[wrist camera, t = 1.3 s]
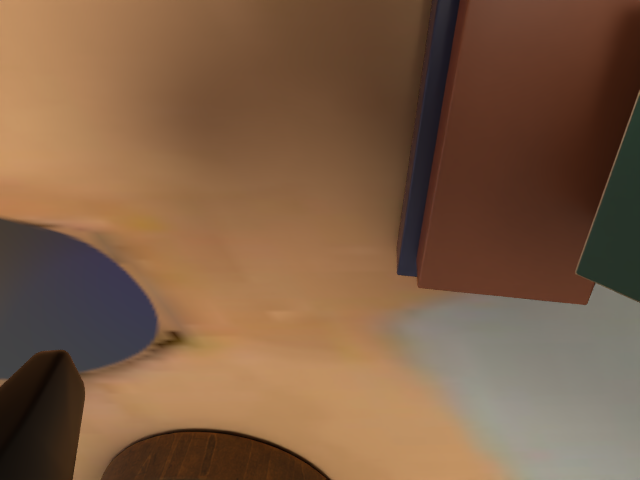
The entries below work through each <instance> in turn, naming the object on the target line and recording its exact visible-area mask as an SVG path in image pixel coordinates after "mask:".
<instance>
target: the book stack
mask: <svg viewBox="0 0 640 480" xmlns="http://www.w3.org/2000/svg"><path fill="white" fill-rule="evenodd" d="M639 90H640V0H432V7H431V14H430V21H429V27H428V34H427V41H426V48H425V55H424V62H423V69H422V76H421V83H420V90H419V97H418V104H417V111H416V118H415V125H414V132H413V139H412V145H411V152H410V159H409V166H408V173H407V180H406V187H405V194H404V201H403V208H402V215H401V222H400V229H399V236H398V243H397V274H398V275H404V276H414V277H417V284H418V287H419V288H425V289H435V290H445V291H454V292H464V293H474V294H484V295H494V296H503V297H513V298H523V299H533V300H542V301H552V302H562V303H572V304H582V305H587V303H588V300H589V298H590V295H591V293H592V290H593V287H594V285H595V282H592V281H590V280H588V279H586V278H584V277H581V276H579V275H577V274H575V270H576V267H577V264H578V262H579V259H580V256H581V253H582V250H583V248H584V245H585V242H586V239H587V236H588V234H589V231H590V228H591V225H592V222H593V219H594V217H595V214H596V211H597V208H598V205H599V203H600V200H601V197H602V194H603V191H604V189H605V186H606V183H607V180H608V177H609V175H610V172H611V169H612V166H613V163H614V160H615V158H616V155H617V152H618V149H619V146H620V144H621V141H622V138H623V135H624V132H625V130H626V127H627V124H628V121H629V118H630V116H631V113H632V110H633V107H634V104H635V101H636V99H637V96H638V93H639Z"/></svg>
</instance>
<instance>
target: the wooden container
mask: <svg viewBox="0 0 640 480" xmlns="http://www.w3.org/2000/svg"><path fill="white" fill-rule="evenodd" d="M101 480H327V479H326V478H325V477H324V476H323V475H321V474H320V473H319V472H318V471H316V470H315V469H314V468H312V467H311V466H309V465H308V464H306V463H305V462H303V461H301V460H300V459H298V458H296V457H294V456H292V455H290V454H288V453H286V452H284V451H282V450H280V449H277V448H275V447H272V446H270V445H267V444H264V443H261V442H258V441H254V440H251V439H247V438H243V437H238V436H233V435H227V434H220V433H209V432H180V433H172V434H166V435H160V436H156V437H153V438H150V439H147V440H144V441H141V442H138V443H136V444H134V445H132V446H130V447H129V448H127V449H126V450H124V451H123V452H122V453H120V454H119V455H118V456H117V457H116V458H115V459H114V460H113V461H112V462H111V463H110V464H109V466H108V467H107V469H106V471H105V472H104V474H103V476H102V478H101Z"/></svg>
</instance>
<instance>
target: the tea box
mask: <svg viewBox="0 0 640 480" xmlns="http://www.w3.org/2000/svg"><path fill="white" fill-rule="evenodd" d="M575 274H577V275H579V276H581V277H584V278H586V279H588V280H590V281H592V282H595V283H597V284H599V285H601V286H604V287H606V288H608V289H610V290H613V291H615V292H617V293H619V294H621V295H624V296H626V297H628V298H630V299H633V300H635V301H637V302H639V303H640V90H639V93H638V96H637V99H636V101H635V104H634V107H633V110H632V113H631V116H630V118H629V121H628V124H627V127H626V130H625V132H624V135H623V138H622V141H621V144H620V146H619V149H618V152H617V155H616V158H615V160H614V163H613V166H612V169H611V172H610V175H609V177H608V180H607V183H606V186H605V189H604V191H603V194H602V197H601V200H600V203H599V205H598V208H597V211H596V214H595V217H594V219H593V222H592V225H591V228H590V231H589V234H588V236H587V239H586V242H585V245H584V248H583V250H582V253H581V256H580V259H579V262H578V264H577V267H576V270H575Z"/></svg>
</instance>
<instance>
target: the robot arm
mask: <svg viewBox="0 0 640 480" xmlns="http://www.w3.org/2000/svg"><path fill="white" fill-rule="evenodd" d="M84 401H85V387H84V383H83V381H82V379H81V377H80V375H79V373H78V371H77V369H76V367H75V365H74V363H73V361H72V359H71V356H70V355H69V353H68V352H66V351H65V350H52V351H41V352H38V353H36V354H35V355H34V356H32V357H31V358H30V359H29V360H28V361H27V362H26V363H25V364H24V365H23V366H22V367H21V368H20V369H19V370H18V371H17V372H16V373H14V374H13V376H12V377H10V378H9V379H8V380H7V381H6V382H5V383H4V384H3V385H2V386H1V387H0V480H72V479H73V473H74V466H75V460H76V453H77V447H78V440H79V434H80V427H81V420H82V414H83V407H84Z"/></svg>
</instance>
